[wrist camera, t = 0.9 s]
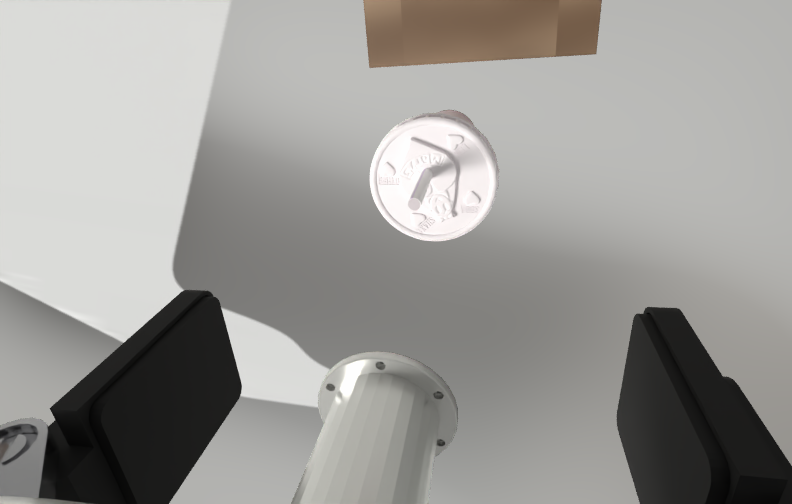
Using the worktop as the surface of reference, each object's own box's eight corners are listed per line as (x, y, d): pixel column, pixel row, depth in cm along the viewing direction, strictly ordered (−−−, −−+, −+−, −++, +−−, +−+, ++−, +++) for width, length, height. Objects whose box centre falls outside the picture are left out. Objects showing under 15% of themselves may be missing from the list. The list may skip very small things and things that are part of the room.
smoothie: (476, 70, 30) (463, 109, 17) (512, 163, 32) (523, 257, 19) (385, 113, 32) (316, 175, 19) (424, 197, 34) (385, 302, 21)
